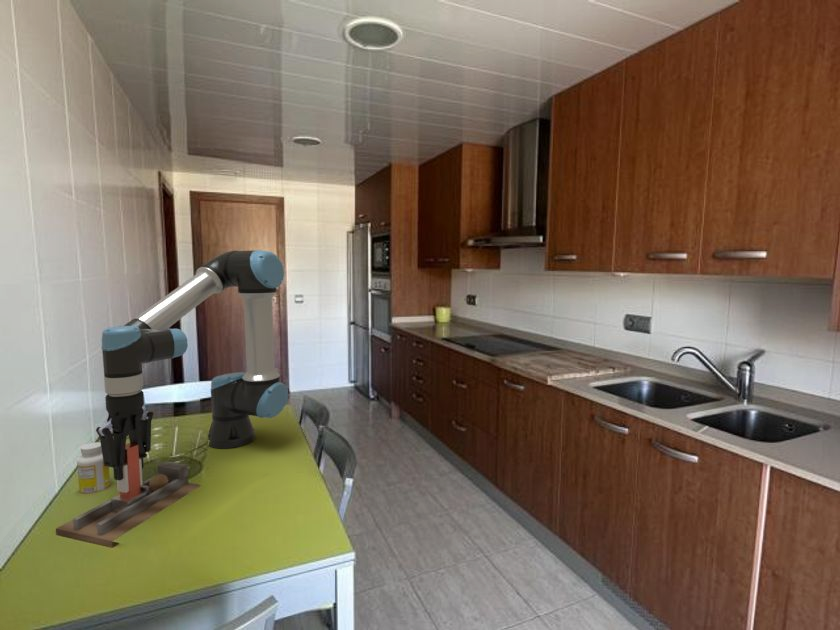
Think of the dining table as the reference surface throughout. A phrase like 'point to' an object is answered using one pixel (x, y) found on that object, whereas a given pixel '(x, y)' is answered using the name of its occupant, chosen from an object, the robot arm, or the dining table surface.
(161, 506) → the base
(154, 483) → the nut
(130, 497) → the lever
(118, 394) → the robot arm
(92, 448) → the supplement bottle
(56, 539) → the dining table surface
